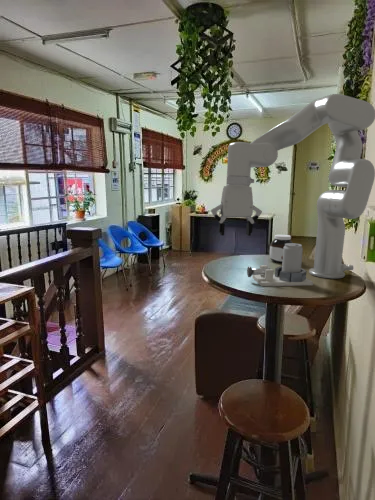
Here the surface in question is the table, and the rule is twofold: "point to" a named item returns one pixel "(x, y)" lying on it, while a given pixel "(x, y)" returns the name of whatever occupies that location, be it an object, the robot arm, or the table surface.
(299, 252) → the beverage can
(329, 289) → the table surface
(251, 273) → the lock pin
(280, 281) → the dock board
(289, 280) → the socket
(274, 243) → the spread jar
